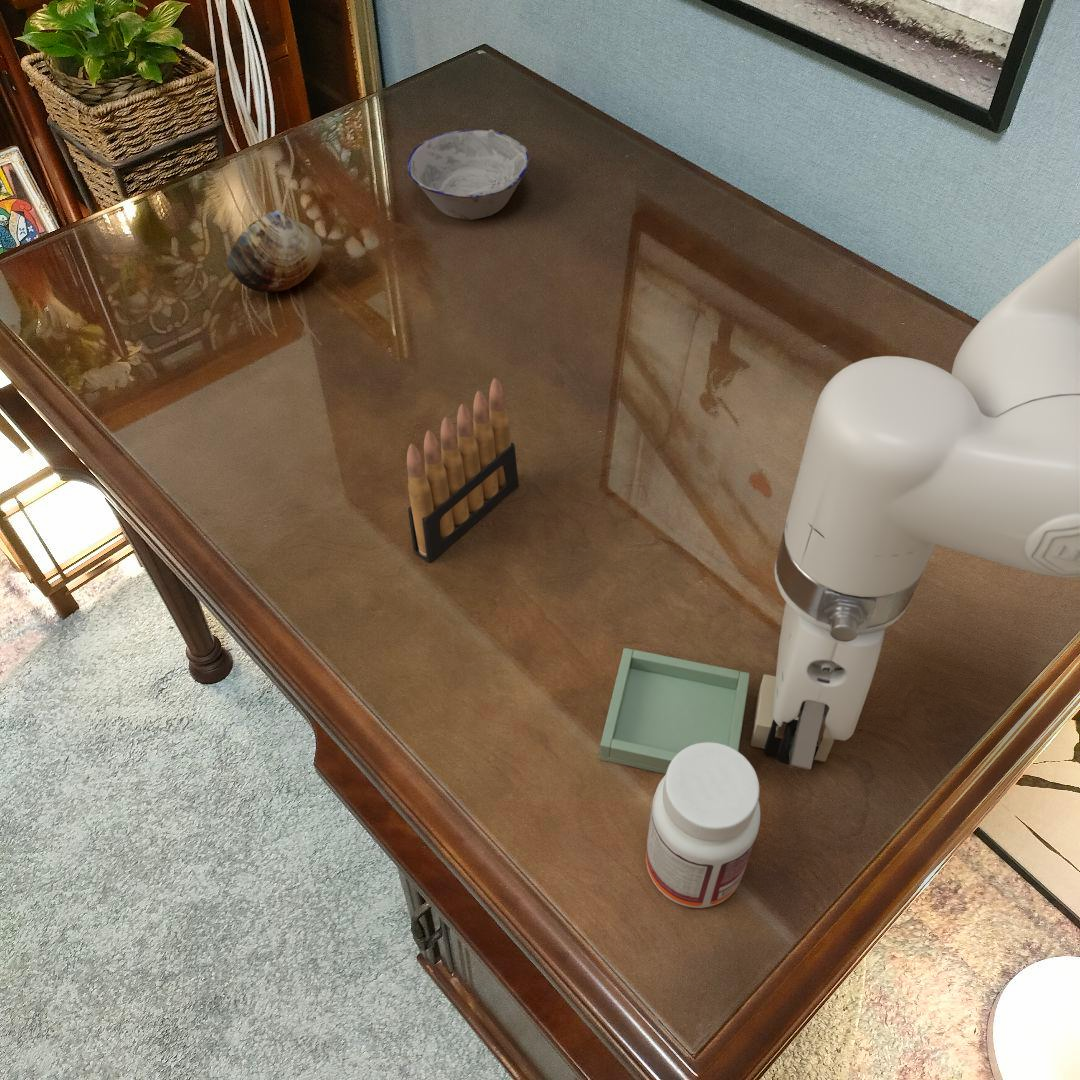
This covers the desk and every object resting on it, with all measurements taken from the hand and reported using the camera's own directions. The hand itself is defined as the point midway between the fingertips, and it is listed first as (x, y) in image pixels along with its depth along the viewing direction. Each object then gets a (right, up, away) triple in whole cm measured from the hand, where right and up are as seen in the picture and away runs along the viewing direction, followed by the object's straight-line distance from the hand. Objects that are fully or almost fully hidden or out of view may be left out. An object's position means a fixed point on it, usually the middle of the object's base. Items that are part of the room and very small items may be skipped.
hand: (791, 724), depth 70 cm
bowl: (-25, +50, +42) cm, 70 cm away
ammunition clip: (-23, +14, +13) cm, 30 cm away
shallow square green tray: (-8, 0, +1) cm, 8 cm away
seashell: (-43, +38, +33) cm, 66 cm away
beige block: (0, 0, 0) cm, 0 cm away
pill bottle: (-8, -8, -5) cm, 12 cm away
